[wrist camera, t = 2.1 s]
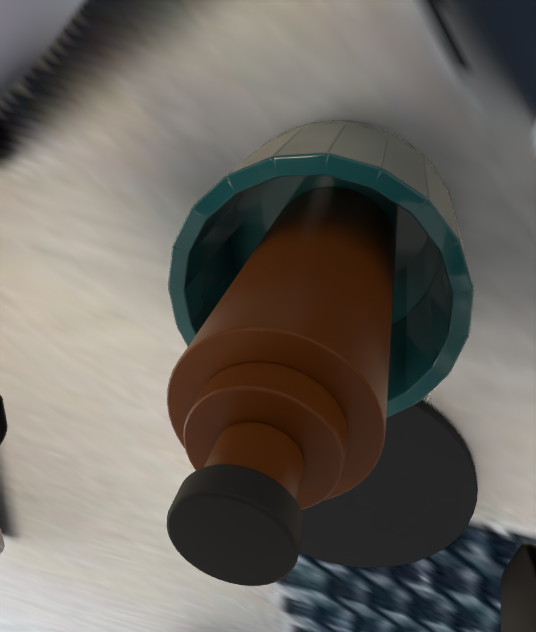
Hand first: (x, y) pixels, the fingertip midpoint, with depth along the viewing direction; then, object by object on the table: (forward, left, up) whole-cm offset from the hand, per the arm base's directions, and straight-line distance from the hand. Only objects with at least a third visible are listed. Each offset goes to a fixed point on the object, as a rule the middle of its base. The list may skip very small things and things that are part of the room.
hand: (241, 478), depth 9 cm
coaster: (-9, +6, -11) cm, 15 cm away
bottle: (0, 0, -10) cm, 10 cm away
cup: (0, 0, -11) cm, 11 cm away
